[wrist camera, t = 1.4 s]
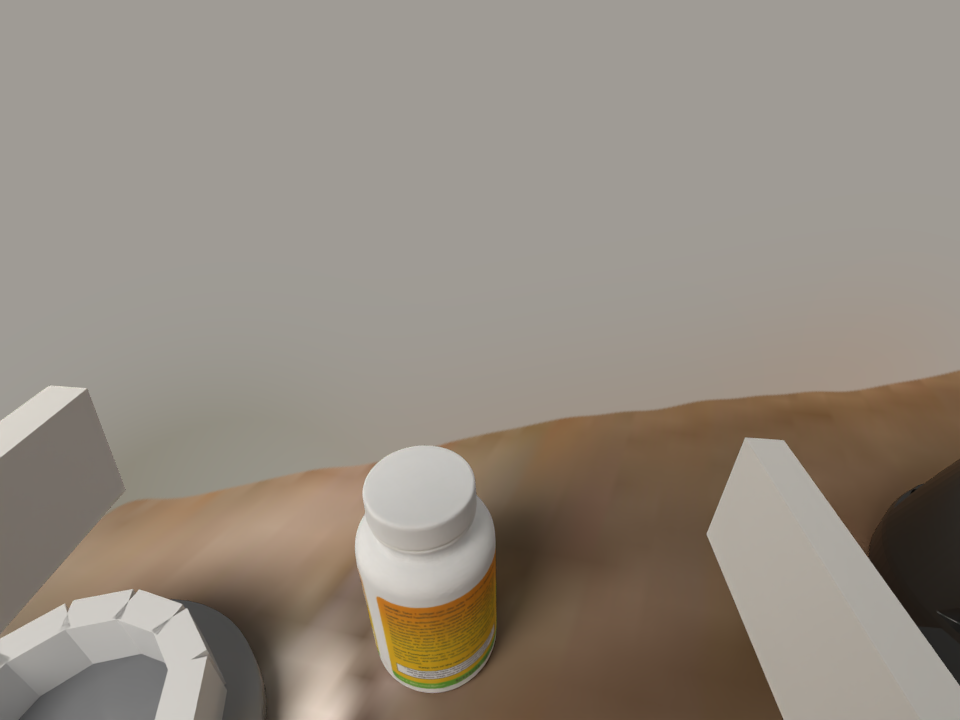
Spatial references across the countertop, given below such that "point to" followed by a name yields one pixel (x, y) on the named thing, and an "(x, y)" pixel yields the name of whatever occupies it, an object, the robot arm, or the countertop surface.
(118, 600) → the bottle holder
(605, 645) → the countertop surface
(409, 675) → the supplement bottle
